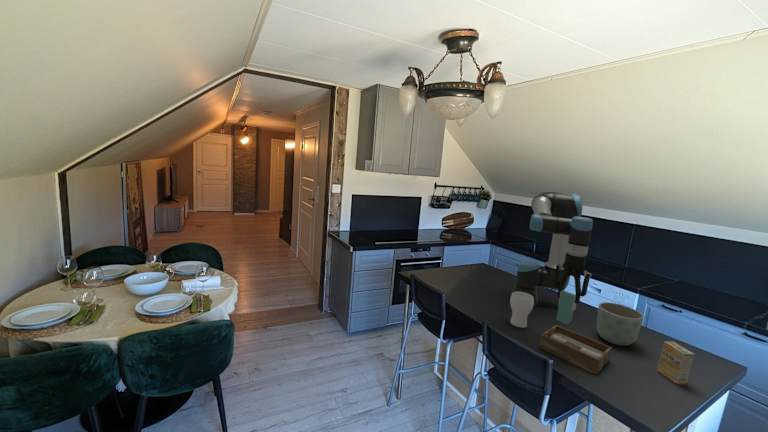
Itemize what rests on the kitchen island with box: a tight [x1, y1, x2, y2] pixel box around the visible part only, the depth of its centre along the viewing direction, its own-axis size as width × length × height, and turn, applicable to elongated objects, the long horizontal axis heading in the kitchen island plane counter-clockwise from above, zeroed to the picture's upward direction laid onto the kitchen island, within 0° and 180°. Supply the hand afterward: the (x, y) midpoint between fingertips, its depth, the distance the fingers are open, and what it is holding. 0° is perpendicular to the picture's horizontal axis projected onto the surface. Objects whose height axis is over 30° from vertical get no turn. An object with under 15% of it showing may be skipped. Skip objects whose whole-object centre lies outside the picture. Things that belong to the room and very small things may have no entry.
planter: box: [596, 301, 645, 347], centre depth 151 cm, size 17×17×15 cm
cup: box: [509, 292, 535, 329], centre depth 160 cm, size 11×11×15 cm
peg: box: [556, 290, 576, 325], centre depth 138 cm, size 4×4×12 cm
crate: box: [538, 324, 613, 375], centre depth 138 cm, size 16×22×6 cm
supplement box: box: [656, 341, 695, 385], centre depth 125 cm, size 8×5×13 cm, turn 5°
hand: (566, 307), depth 138 cm, fingers closed on peg, 4 cm apart
